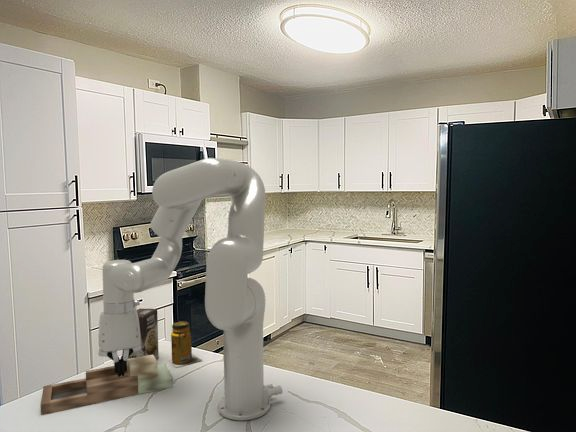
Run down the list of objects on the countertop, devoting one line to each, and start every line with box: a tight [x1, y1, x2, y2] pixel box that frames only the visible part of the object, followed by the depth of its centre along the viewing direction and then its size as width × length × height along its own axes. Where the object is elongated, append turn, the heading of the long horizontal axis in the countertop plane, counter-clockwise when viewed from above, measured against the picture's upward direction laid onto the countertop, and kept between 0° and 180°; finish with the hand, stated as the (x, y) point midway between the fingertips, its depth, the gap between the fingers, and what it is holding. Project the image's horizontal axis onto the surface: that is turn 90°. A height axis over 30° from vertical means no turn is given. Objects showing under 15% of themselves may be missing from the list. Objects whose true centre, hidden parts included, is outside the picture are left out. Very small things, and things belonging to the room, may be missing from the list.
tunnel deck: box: [40, 363, 174, 416], centre depth 113 cm, size 31×11×4 cm, turn 117°
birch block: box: [127, 355, 158, 380], centre depth 118 cm, size 7×6×4 cm
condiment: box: [167, 321, 202, 368], centre depth 133 cm, size 7×8×12 cm
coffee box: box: [128, 308, 160, 361], centre depth 131 cm, size 9×6×16 cm
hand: (120, 374), depth 115 cm, fingers closed
